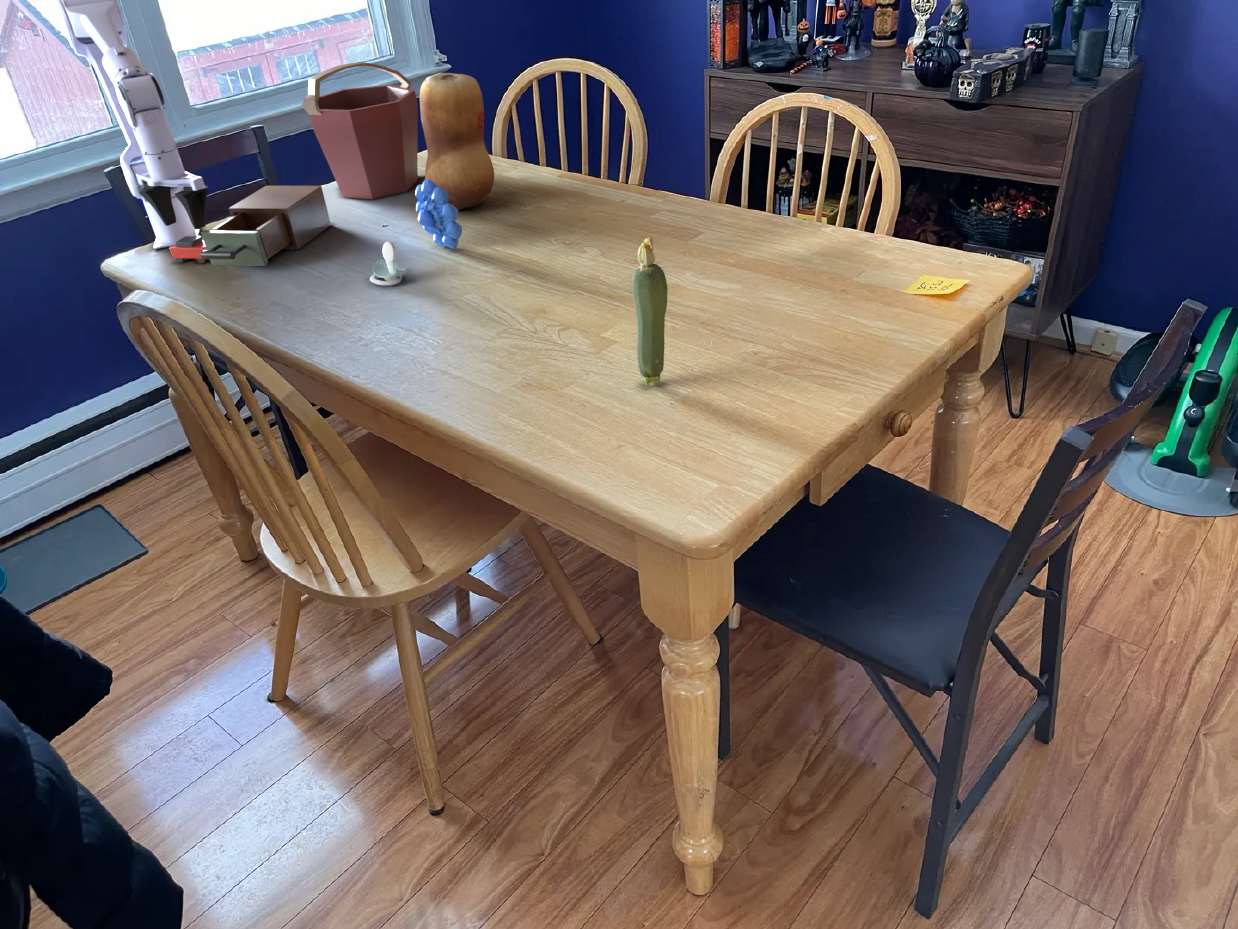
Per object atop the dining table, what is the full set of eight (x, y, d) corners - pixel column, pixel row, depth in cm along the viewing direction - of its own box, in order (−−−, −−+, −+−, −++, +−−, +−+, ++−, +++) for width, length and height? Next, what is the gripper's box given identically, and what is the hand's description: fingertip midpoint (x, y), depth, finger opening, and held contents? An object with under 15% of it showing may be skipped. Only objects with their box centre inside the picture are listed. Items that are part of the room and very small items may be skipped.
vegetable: (636, 375, 123) (626, 229, 112) (669, 371, 123) (662, 225, 112) (640, 391, 119) (630, 242, 108) (673, 387, 119) (667, 238, 108)
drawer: (249, 276, 160) (239, 243, 157) (195, 275, 163) (183, 242, 159) (298, 241, 174) (290, 209, 170) (247, 240, 176) (238, 209, 173)
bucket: (335, 211, 189) (303, 83, 175) (308, 186, 206) (276, 66, 192) (446, 185, 199) (424, 61, 185) (412, 163, 215) (389, 47, 201)
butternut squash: (494, 216, 180) (473, 80, 166) (426, 220, 181) (400, 86, 167) (502, 193, 192) (483, 64, 177) (438, 197, 192) (415, 69, 178)
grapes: (406, 247, 169) (392, 181, 163) (436, 235, 173) (424, 171, 166) (443, 261, 162) (430, 193, 155) (474, 249, 166) (462, 182, 159)
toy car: (174, 262, 171) (167, 242, 169) (187, 254, 175) (180, 235, 173) (207, 263, 170) (200, 243, 168) (219, 255, 173) (213, 235, 171)
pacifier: (390, 291, 153) (417, 277, 157) (381, 255, 149) (409, 242, 153) (362, 282, 157) (389, 269, 161) (353, 247, 153) (381, 235, 157)
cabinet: (297, 249, 172) (286, 208, 168) (241, 248, 175) (228, 208, 171) (331, 224, 183) (321, 185, 179) (277, 224, 186) (266, 185, 181)
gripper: (112, 154, 161) (140, 229, 169) (170, 159, 155) (197, 237, 163) (144, 143, 166) (170, 216, 174) (202, 147, 160) (226, 223, 168)
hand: (185, 225), depth 169 cm, fingers open, 7 cm apart
